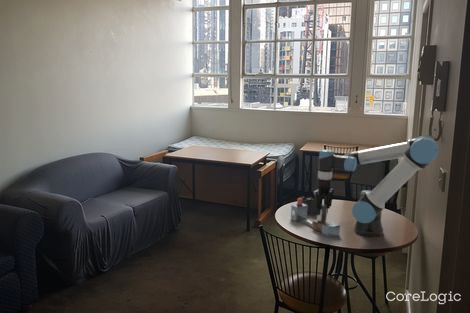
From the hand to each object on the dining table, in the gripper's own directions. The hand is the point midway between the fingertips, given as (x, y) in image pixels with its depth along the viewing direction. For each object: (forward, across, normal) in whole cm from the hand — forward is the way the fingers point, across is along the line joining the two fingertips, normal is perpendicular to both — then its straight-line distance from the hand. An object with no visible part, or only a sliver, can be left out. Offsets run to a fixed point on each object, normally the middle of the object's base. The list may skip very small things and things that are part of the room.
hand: (321, 219), depth 224 cm
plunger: (-2, 0, -19) cm, 20 cm away
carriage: (+6, 0, 0) cm, 6 cm away
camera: (+7, -16, -26) cm, 32 cm away
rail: (+6, 0, -6) cm, 9 cm away
